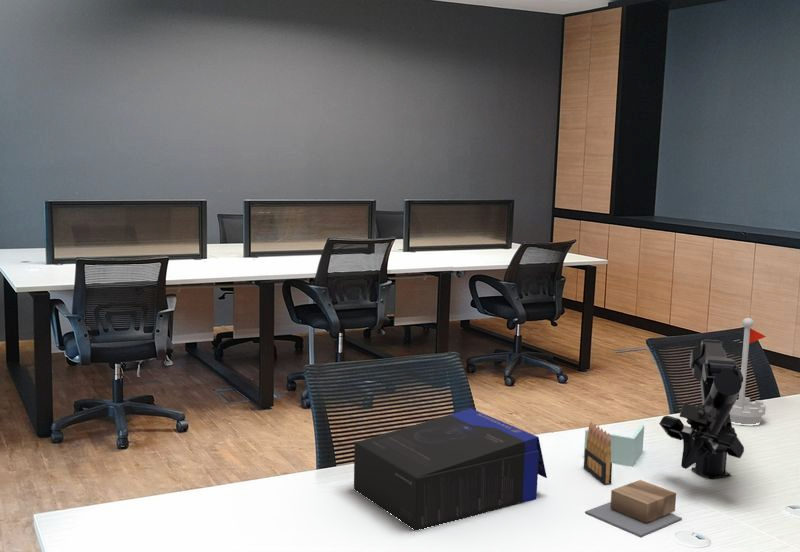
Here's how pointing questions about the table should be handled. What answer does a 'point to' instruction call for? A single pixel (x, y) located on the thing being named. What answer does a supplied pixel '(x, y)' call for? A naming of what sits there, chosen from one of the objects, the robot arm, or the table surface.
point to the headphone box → (449, 468)
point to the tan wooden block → (643, 501)
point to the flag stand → (743, 407)
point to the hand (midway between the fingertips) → (683, 467)
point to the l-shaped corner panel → (625, 447)
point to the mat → (631, 520)
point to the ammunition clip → (598, 454)
